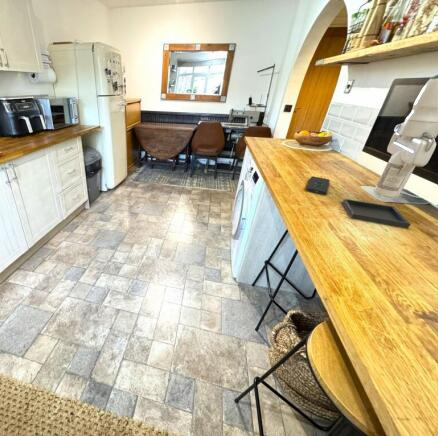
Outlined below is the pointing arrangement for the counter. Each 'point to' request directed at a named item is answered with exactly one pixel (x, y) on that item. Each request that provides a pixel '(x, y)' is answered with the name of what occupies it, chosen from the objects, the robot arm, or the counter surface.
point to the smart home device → (318, 185)
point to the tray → (375, 213)
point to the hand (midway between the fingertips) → (396, 171)
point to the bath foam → (392, 178)
